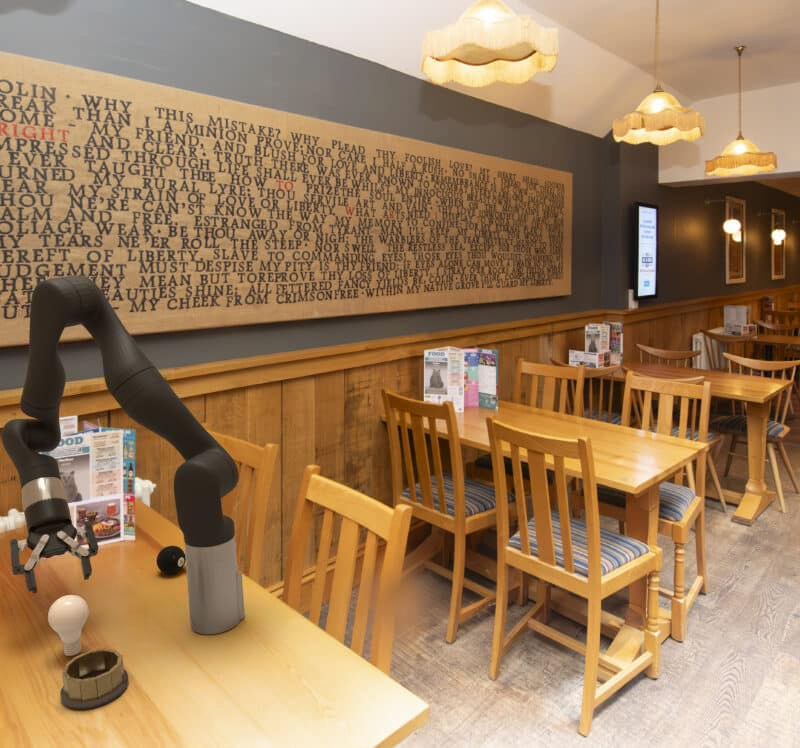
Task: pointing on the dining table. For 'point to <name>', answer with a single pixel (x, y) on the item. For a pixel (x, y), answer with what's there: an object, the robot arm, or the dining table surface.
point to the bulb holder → (93, 679)
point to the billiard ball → (171, 559)
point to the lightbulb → (69, 621)
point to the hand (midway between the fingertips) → (61, 584)
